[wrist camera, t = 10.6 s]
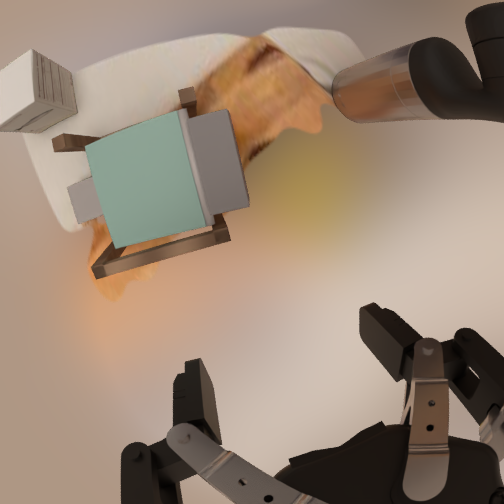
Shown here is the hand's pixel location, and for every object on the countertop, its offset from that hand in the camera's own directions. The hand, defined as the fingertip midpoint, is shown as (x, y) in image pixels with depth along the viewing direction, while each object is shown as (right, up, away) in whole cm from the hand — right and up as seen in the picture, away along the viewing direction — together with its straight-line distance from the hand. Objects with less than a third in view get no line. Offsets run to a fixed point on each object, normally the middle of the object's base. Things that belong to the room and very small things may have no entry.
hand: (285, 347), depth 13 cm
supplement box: (-30, +26, +15) cm, 42 cm away
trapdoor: (-10, +13, +15) cm, 22 cm away
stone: (-19, +13, +19) cm, 30 cm away
